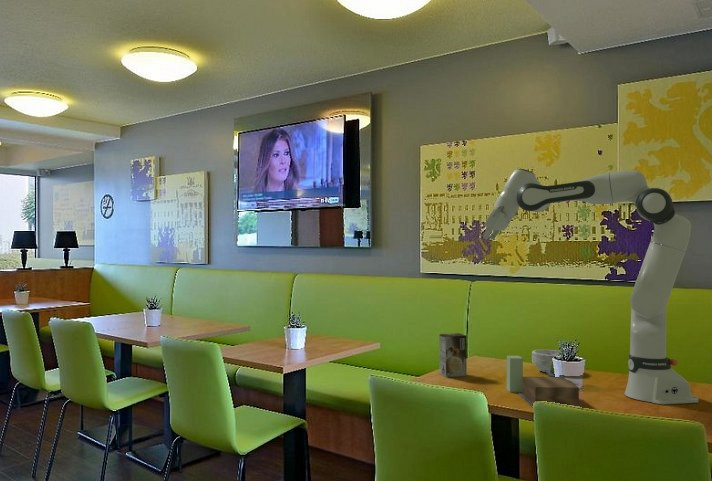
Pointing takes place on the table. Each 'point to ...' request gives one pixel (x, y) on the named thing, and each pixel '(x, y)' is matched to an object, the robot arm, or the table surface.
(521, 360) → the pillar
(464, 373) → the coffee box
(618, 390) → the table surface
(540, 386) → the base
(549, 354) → the paper bowls
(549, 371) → the geometric puzzle
